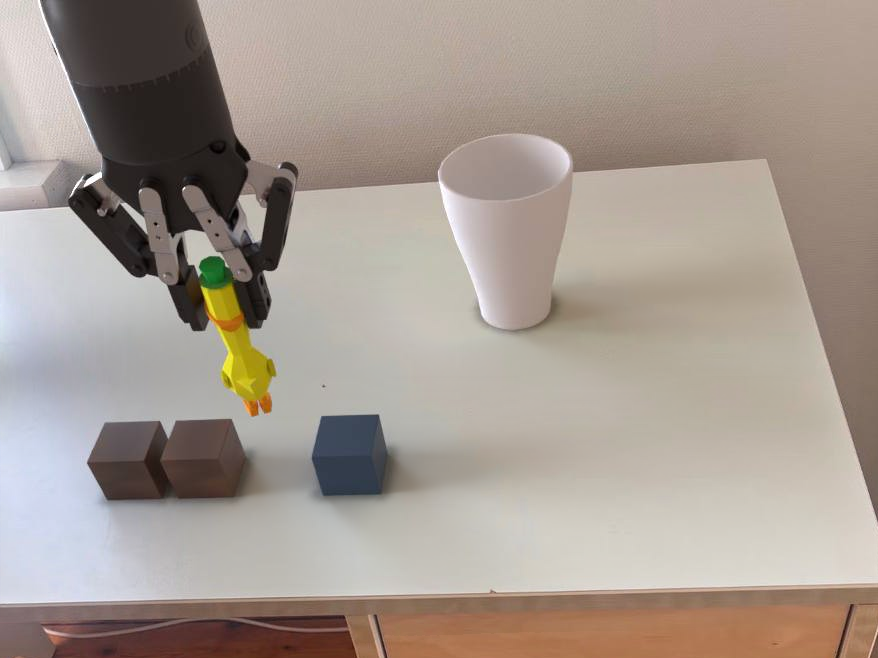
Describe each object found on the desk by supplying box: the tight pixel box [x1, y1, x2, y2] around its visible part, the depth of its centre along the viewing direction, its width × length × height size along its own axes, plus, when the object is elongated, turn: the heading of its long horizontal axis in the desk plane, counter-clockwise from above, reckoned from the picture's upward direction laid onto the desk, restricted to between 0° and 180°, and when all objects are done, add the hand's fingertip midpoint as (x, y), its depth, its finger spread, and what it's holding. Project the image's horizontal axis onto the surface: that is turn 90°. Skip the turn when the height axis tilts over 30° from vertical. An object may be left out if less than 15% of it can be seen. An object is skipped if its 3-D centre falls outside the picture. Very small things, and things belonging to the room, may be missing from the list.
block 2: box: [160, 418, 247, 500], centre depth 73 cm, size 4×4×4 cm
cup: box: [437, 133, 574, 331], centre depth 80 cm, size 10×10×14 cm
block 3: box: [310, 413, 389, 497], centre depth 72 cm, size 4×4×4 cm
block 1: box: [86, 420, 170, 501], centre depth 74 cm, size 4×4×4 cm
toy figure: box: [198, 255, 277, 418], centre depth 64 cm, size 7×4×12 cm, turn 17°
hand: (229, 321), depth 63 cm, fingers closed on toy figure, 3 cm apart
